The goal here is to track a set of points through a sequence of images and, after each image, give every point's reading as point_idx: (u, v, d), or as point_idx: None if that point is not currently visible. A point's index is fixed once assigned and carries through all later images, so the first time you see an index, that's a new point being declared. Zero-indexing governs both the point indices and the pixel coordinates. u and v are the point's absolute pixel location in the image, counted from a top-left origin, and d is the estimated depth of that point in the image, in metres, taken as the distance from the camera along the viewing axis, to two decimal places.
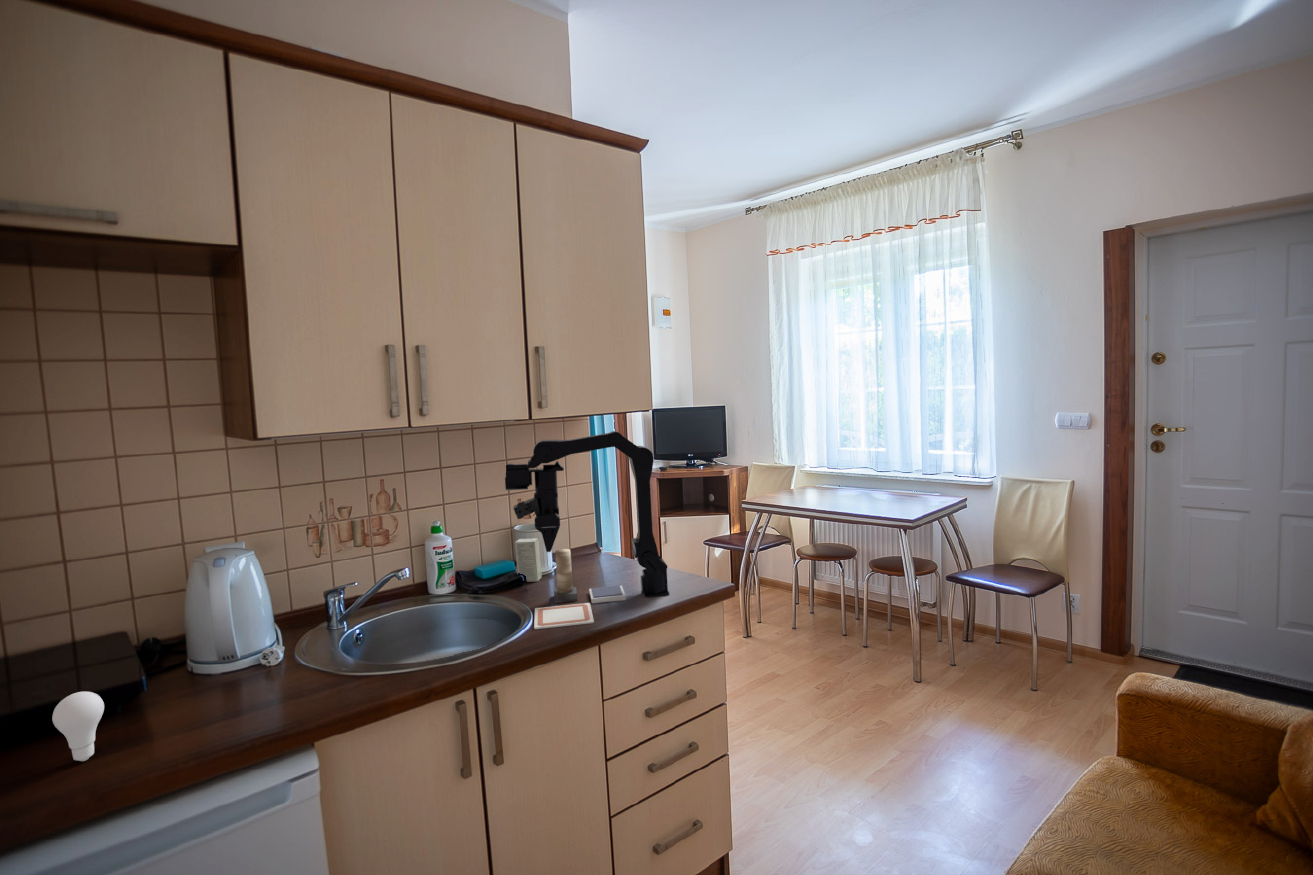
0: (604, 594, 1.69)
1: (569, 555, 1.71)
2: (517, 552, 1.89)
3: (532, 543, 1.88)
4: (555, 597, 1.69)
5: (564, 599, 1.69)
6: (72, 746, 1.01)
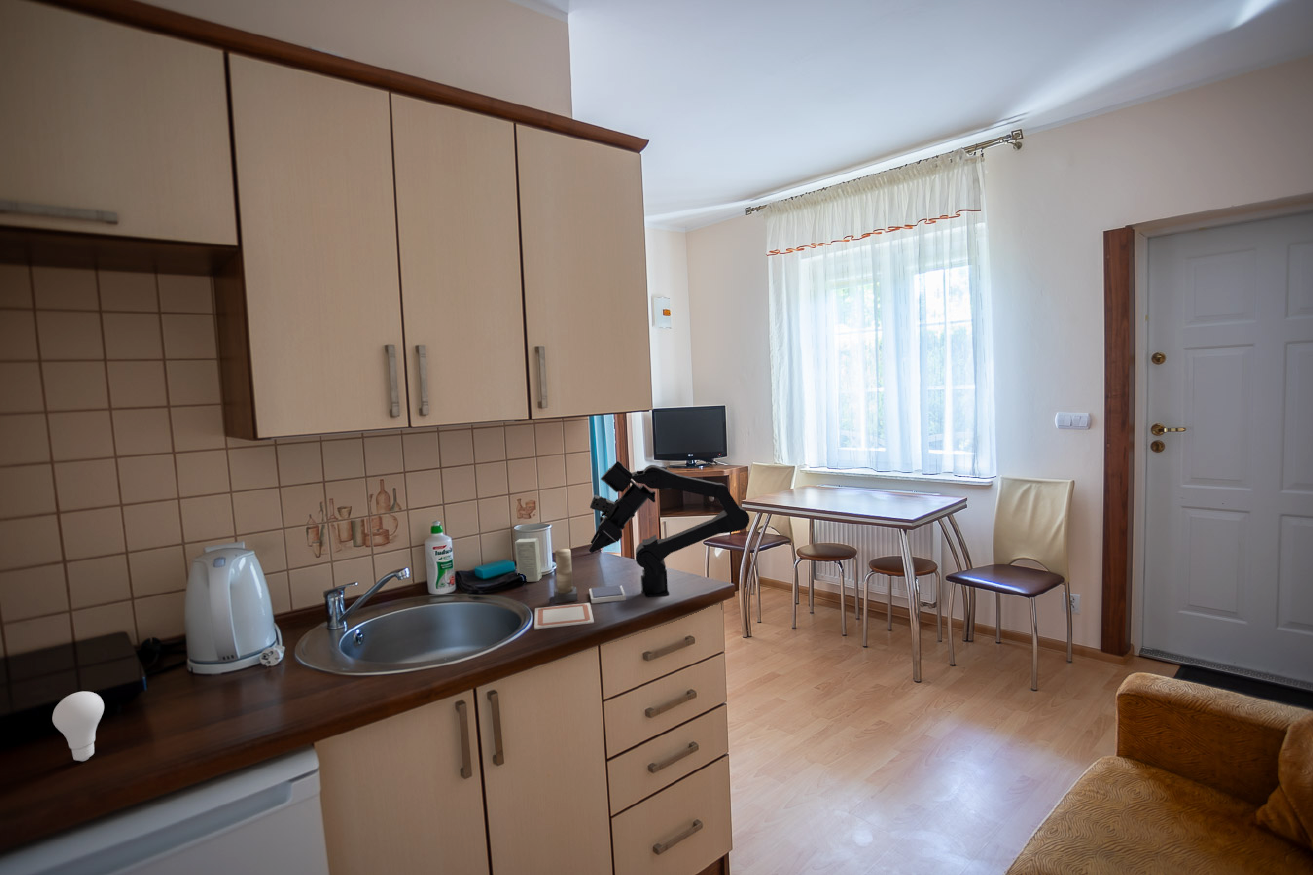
0: (604, 594, 1.69)
1: (569, 555, 1.71)
2: (517, 552, 1.89)
3: (532, 543, 1.88)
4: (555, 597, 1.69)
5: (564, 599, 1.69)
6: (72, 746, 1.01)
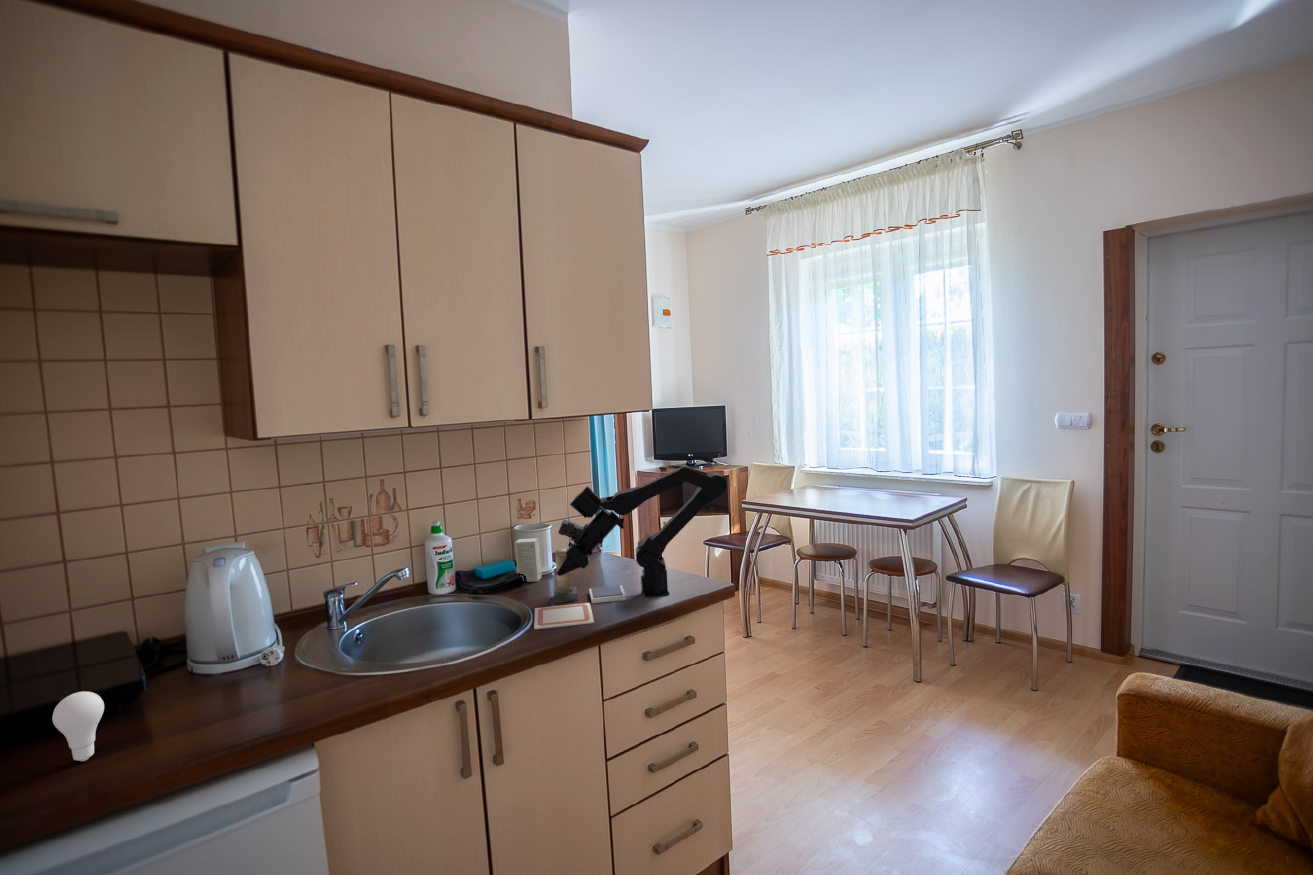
0: (604, 594, 1.69)
1: None
2: (517, 552, 1.89)
3: (532, 543, 1.88)
4: (555, 597, 1.69)
5: (564, 599, 1.69)
6: (72, 746, 1.01)
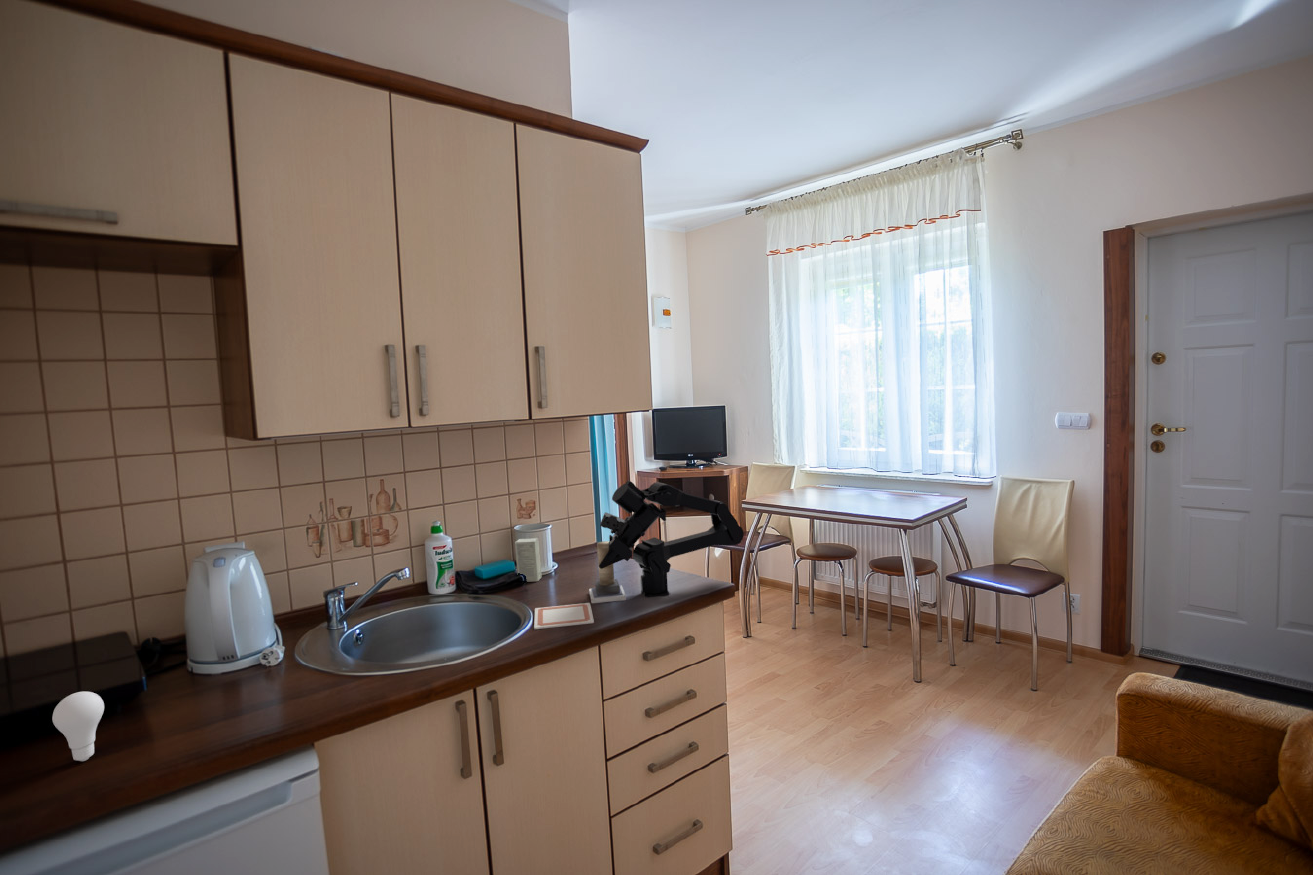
0: None
1: None
2: (517, 552, 1.89)
3: (532, 543, 1.88)
4: (598, 589, 1.69)
5: (606, 592, 1.69)
6: (72, 746, 1.01)
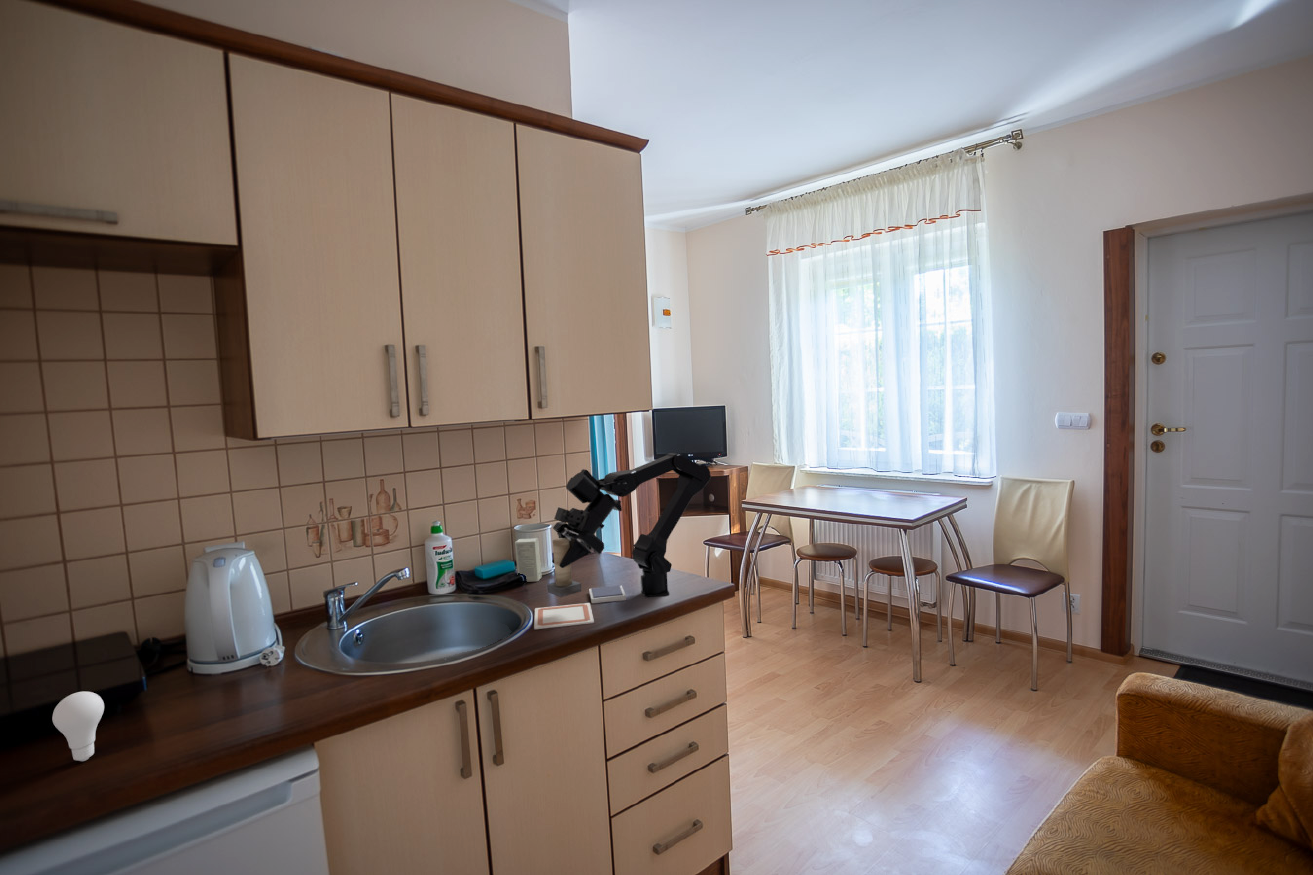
0: (604, 594, 1.69)
1: (569, 544, 1.58)
2: (517, 552, 1.89)
3: (532, 543, 1.88)
4: (561, 591, 1.55)
5: (569, 592, 1.56)
6: (72, 746, 1.01)
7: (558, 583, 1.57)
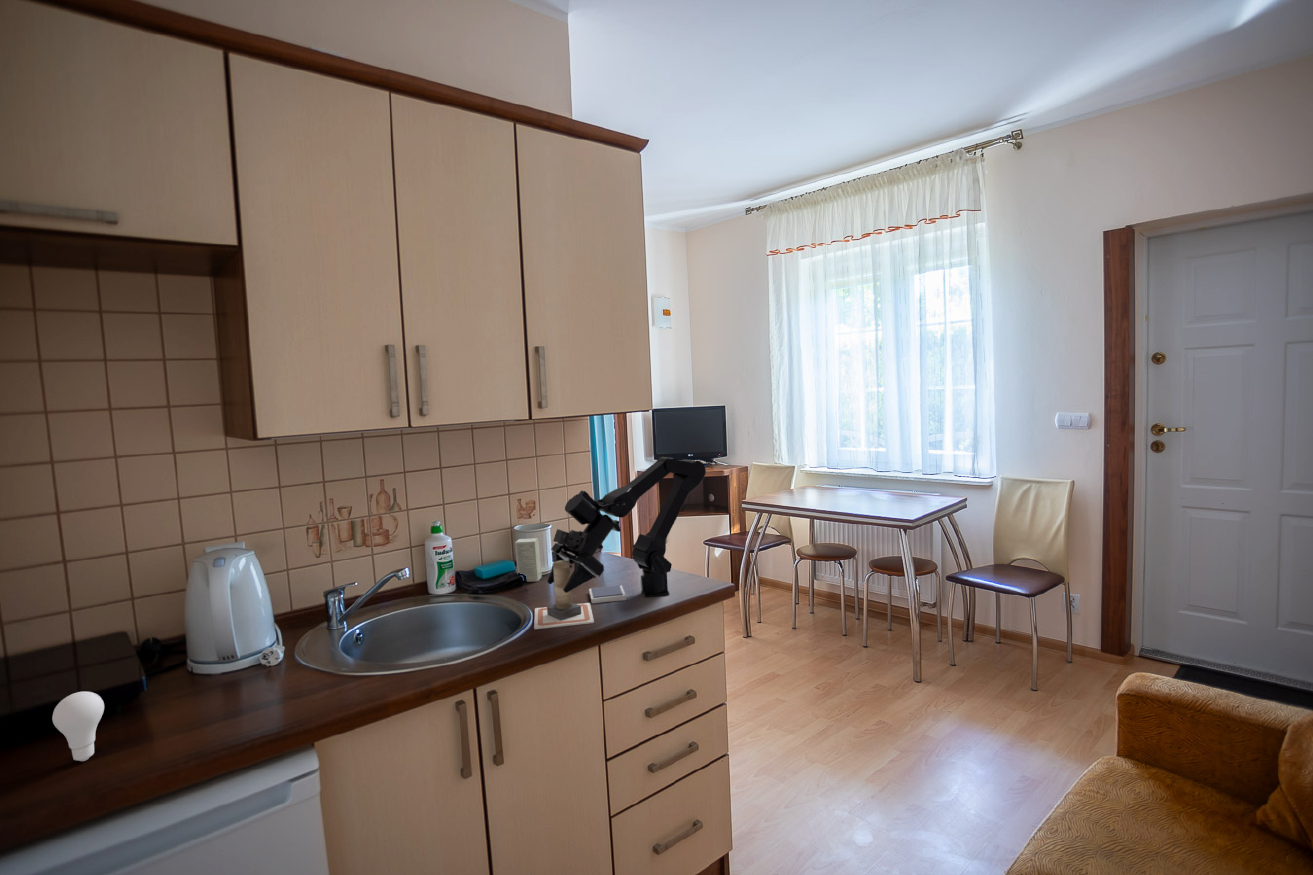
0: (604, 594, 1.69)
1: (569, 566, 1.58)
2: (517, 552, 1.89)
3: (532, 543, 1.88)
4: (561, 614, 1.55)
5: (569, 615, 1.56)
6: (72, 746, 1.01)
7: (558, 606, 1.57)
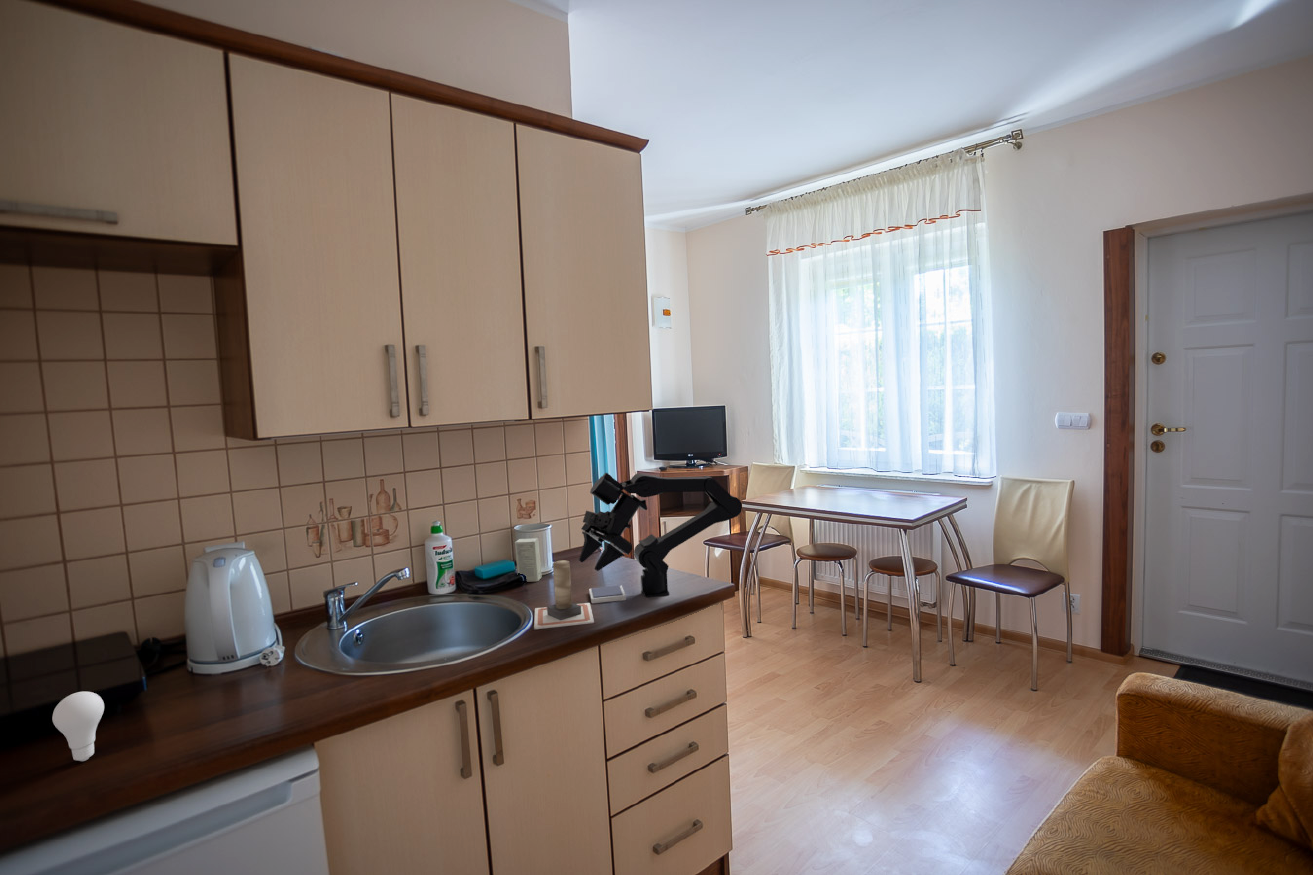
0: (604, 594, 1.69)
1: (569, 566, 1.58)
2: (517, 552, 1.89)
3: (532, 543, 1.88)
4: (561, 614, 1.55)
5: (569, 615, 1.56)
6: (72, 746, 1.01)
7: (558, 606, 1.57)
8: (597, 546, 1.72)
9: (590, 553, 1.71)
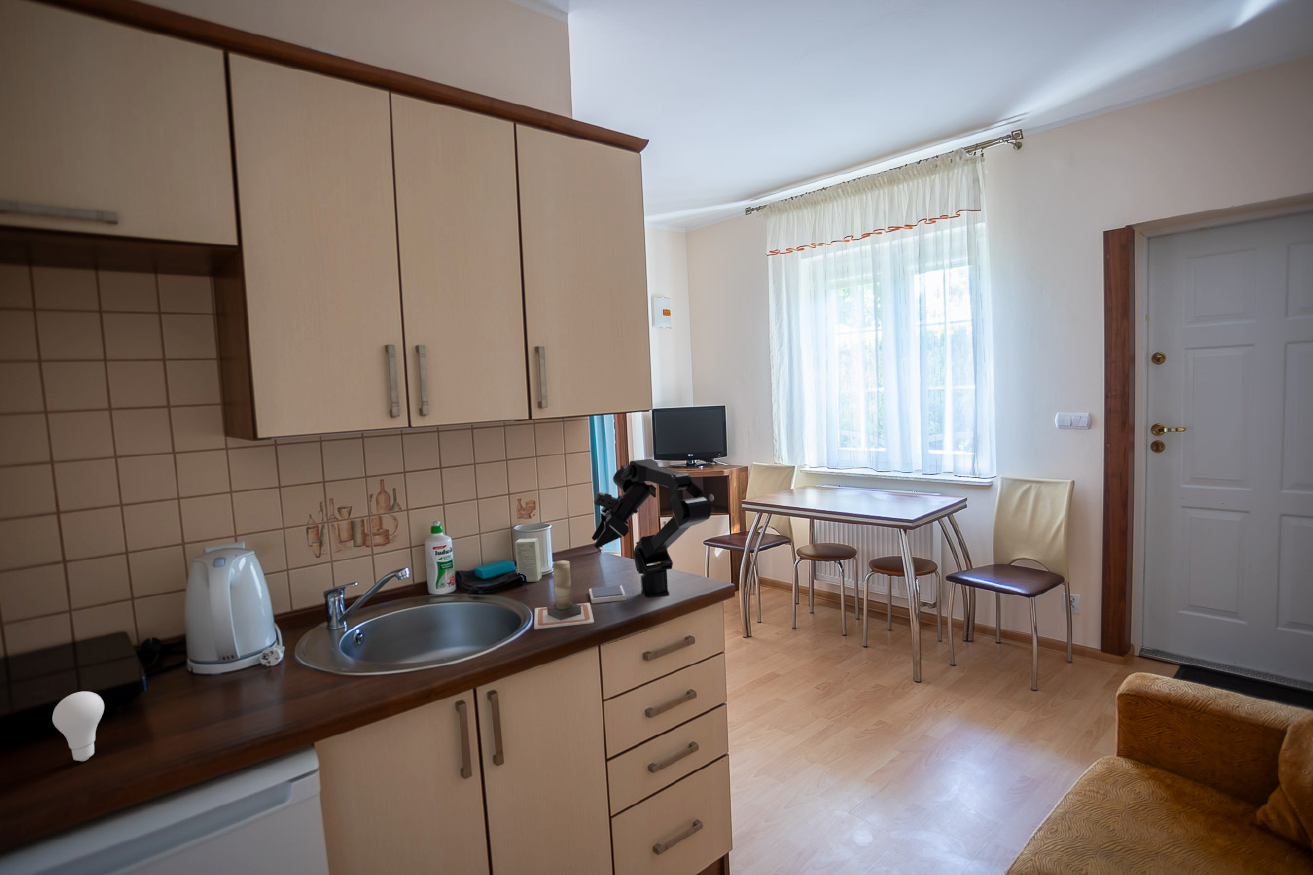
0: (604, 594, 1.69)
1: (569, 566, 1.58)
2: (517, 552, 1.89)
3: (532, 543, 1.88)
4: (561, 614, 1.55)
5: (569, 615, 1.56)
6: (72, 746, 1.01)
7: (558, 606, 1.57)
8: None
9: None
